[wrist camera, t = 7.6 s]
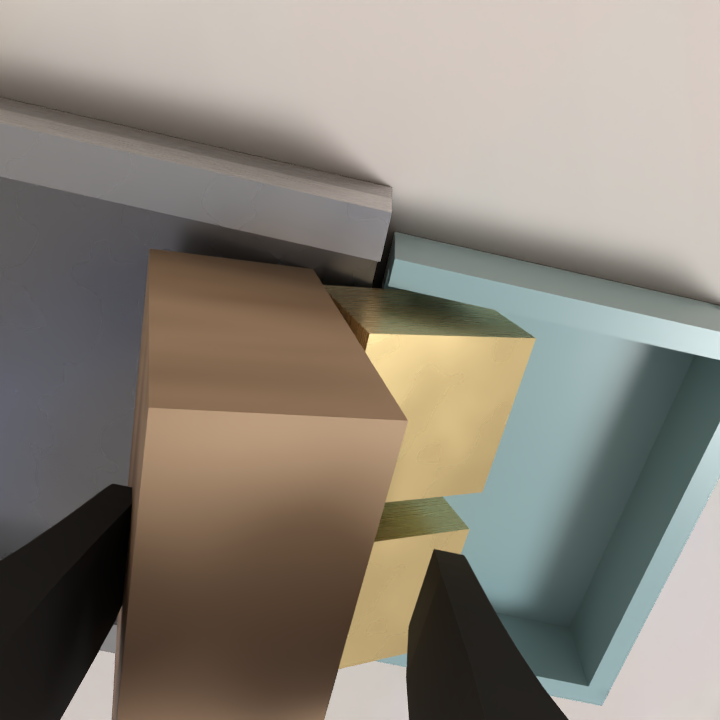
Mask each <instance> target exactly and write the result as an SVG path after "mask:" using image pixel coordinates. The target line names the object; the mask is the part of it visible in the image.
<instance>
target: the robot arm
mask: <svg viewBox="0 0 720 720" xmlns="http://www.w3.org/2000/svg"><path fill="white" fill-rule="evenodd" d="M131 509H132V487H128V486H123V485H118V484H113V483H112V484H111V485H109V486H107V487H106V488H104V489H103V490H102V491H100V492H99V493H97V494H96V495H95V496H93V497H92V498H91V499H89V500H88V501H87V502H85V503H84V504H83V505H81V506H80V507H79V508H77V509H76V510H74V511H73V512H72V513H70V514H69V515H68V516H66V517H65V518H63V519H62V520H61V521H59V522H58V523H56V524H55V525H53V526H52V527H51V528H49V529H48V530H46V531H45V532H43V533H42V534H40V535H39V536H37V537H36V538H34V539H33V540H32V541H30V542H29V543H27V544H26V545H24V546H23V547H21V548H19V549H18V550H16V551H15V552H13V553H11V554H10V555H8V556H7V557H5V558H3V559H2V560H0V720H60V719H61V717H62V716H63V714H64V712H65V710H66V709H67V707H68V705H69V703H70V701H71V700H72V698H73V696H74V694H75V693H76V691H77V689H78V687H79V685H80V684H81V682H82V680H83V678H84V677H85V675H86V673H87V671H88V670H89V668H90V666H91V664H92V662H93V661H94V659H95V657H96V655H97V653H98V652H99V650H100V648H101V646H102V644H103V643H104V641H105V639H106V637H107V635H108V634H109V632H110V630H111V628H112V626H113V624H114V623H115V621H116V618H117V616H118V614H119V611H120V609H121V607H122V602H123V592H124V582H125V571H126V561H127V550H128V540H129V530H130V519H131ZM406 681H407V696H408V710H409V720H568V718H567V717H566V716H565V715H564V713H563V712H562V711H561V710H560V708H559V707H558V706H557V705H556V703H555V702H554V701H553V699H552V698H551V697H550V695H549V694H548V693H547V691H546V690H545V689H544V687H543V686H542V684H541V683H540V682H539V680H538V679H537V677H536V676H535V674H534V673H533V671H532V670H531V668H530V667H529V665H528V664H527V662H526V661H525V659H524V658H523V656H522V655H521V653H520V652H519V650H518V648H517V647H516V645H515V643H514V642H513V640H512V639H511V637H510V635H509V634H508V632H507V630H506V629H505V627H504V625H503V624H502V622H501V620H500V619H499V617H498V615H497V613H496V612H495V610H494V608H493V606H492V604H491V603H490V601H489V599H488V597H487V596H486V594H485V592H484V590H483V588H482V586H481V584H480V583H479V581H478V579H477V577H476V575H475V573H474V571H473V570H472V568H471V566H470V564H469V562H468V560H467V559H466V557H465V556H464V555H461V554H457V553H452V552H447V551H442V550H437V549H434V550H433V553H432V556H431V559H430V562H429V565H428V568H427V571H426V574H425V577H424V580H423V584H422V587H421V590H420V593H419V596H418V599H417V602H416V605H415V608H414V611H413V614H412V617H411V620H410V623H409V626H408V646H407V670H406Z"/></svg>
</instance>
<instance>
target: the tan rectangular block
mask: <svg viewBox="0 0 720 720" xmlns="http://www.w3.org/2000/svg"><path fill="white" fill-rule="evenodd" d="M407 423H408V420H407V418H406V416H405V415H404V413H403V412H402V410H401V408H400V407H399V405H398V404H397V402H396V400H395V399H394V397H393V396H392V394H391V393H390V391H389V389H388V388H387V386H386V385H385V383H384V381H383V380H382V378H381V377H380V375H379V373H378V372H377V370H376V369H375V367H374V365H373V364H372V362H371V361H370V359H369V357H368V356H367V354H366V353H365V351H364V349H363V348H362V346H361V345H360V343H359V341H358V340H357V338H356V337H355V335H354V333H353V332H352V330H351V329H350V327H349V326H348V324H347V322H346V321H345V319H344V318H343V316H342V314H341V313H340V311H339V310H338V308H337V306H336V305H335V303H334V302H333V300H332V298H331V297H330V295H329V294H328V292H327V290H326V289H325V287H324V286H323V284H322V282H321V281H320V279H319V278H318V276H317V274H316V273H315V271H314V270H313V269H309V268H301V267H293V266H285V265H277V264H269V263H261V262H253V261H245V260H237V259H229V258H221V257H213V256H205V255H197V254H190V253H182V252H174V251H166V250H158V249H149V260H148V271H147V282H146V293H145V304H144V315H143V325H142V336H141V347H140V358H139V369H138V380H137V391H136V401H135V412H134V423H133V434H132V445H131V456H130V467H129V478H128V487H132V509H131V519H130V530H129V540H128V550H127V561H126V571H125V582H124V592H123V602H122V607H121V609H120V611H119V614H118V617H117V636H116V654H115V672H114V690H113V708H112V720H324V718H325V715H326V711H327V707H328V704H329V700H330V697H331V693H332V690H333V686H334V683H335V679H336V676H337V672H338V668H339V665H340V661H341V658H342V654H343V651H344V647H345V644H346V640H347V636H348V633H349V629H350V626H351V622H352V619H353V615H354V612H355V608H356V605H357V601H358V597H359V594H360V590H361V587H362V583H363V580H364V576H365V573H366V569H367V565H368V562H369V558H370V555H371V551H372V548H373V544H374V541H375V537H376V533H377V530H378V526H379V523H380V519H381V516H382V512H383V509H384V505H385V502H386V498H387V494H388V491H389V487H390V484H391V480H392V477H393V473H394V470H395V466H396V462H397V459H398V455H399V452H400V448H401V445H402V441H403V438H404V434H405V430H406V427H407Z"/></svg>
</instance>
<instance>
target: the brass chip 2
mask: <svg viewBox="0 0 720 720" xmlns="http://www.w3.org/2000/svg"><path fill="white" fill-rule="evenodd" d="M468 532H469V528H468V526H467V525H466V524H465V523H464V522H463V520H462V519H461V518H460V517H459V516H458V514H457V513H456V512H455V511H454V510H453V508H452V507H451V506H450V505H449V504H448V502H447V501H446V500H445V499H444V498H443V496H442V497H433V498H423V499H414V500H404V501H395V502H386V503H385V505H384V509H383V512H382V516H381V519H380V523H379V526H378V530H377V533H376V537H375V541H374V544H373V548H372V551H371V555H370V558H369V562H368V565H367V569H366V573H365V576H364V580H363V583H362V587H361V590H360V594H359V597H358V601H357V605H356V608H355V612H354V615H353V619H352V622H351V626H350V629H349V633H348V636H347V640H346V644H345V647H344V651H343V654H342V658H341V661H340V665H339V668H338V669H341V668H345V667H350V666H354V665H358V664H363V663H367V662H371V661H376V660H380V659H385V658H389V657H393V656H398V655H402V654H407V646H408V626H409V623H410V620H411V617H412V614H413V611H414V608H415V605H416V602H417V599H418V596H419V593H420V590H421V587H422V584H423V580H424V577H425V574H426V571H427V568H428V565H429V562H430V559H431V556H432V553H433V550H434V549H437V550H442V551H447V552H452V553H457V554H461V552H462V549H463V547H464V544H465V541H466V538H467V535H468Z"/></svg>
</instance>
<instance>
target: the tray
mask: <svg viewBox="0 0 720 720" xmlns="http://www.w3.org/2000/svg"><path fill="white" fill-rule="evenodd" d="M381 289H396V290H408V291H413V292H417V293H422V294H426V295H431V296H435V297H440V298H444V299H449V300H453V301H458V302H462V303H466V304H471V305H475V306H480V307H484V308H489V309H493V310H496V311H497V312H499V313H500V314H501V315H503V316H504V317H506V318H507V319H509V320H510V321H512V322H513V323H515V324H516V325H517V326H519V327H520V328H522V329H523V330H525V331H526V332H528V333H529V334H531V335H532V336H533V337H535V338H536V340H535V343H534V346H533V349H532V351H531V354H530V357H529V360H528V363H527V366H526V369H525V371H524V374H523V377H522V380H521V383H520V386H519V389H518V391H517V394H516V397H515V400H514V403H513V406H512V409H511V412H510V414H509V417H508V420H507V423H506V426H505V429H504V432H503V434H502V437H501V440H500V443H499V446H498V449H497V452H496V454H495V457H494V460H493V463H492V466H491V469H490V472H489V474H488V477H487V480H486V483H485V486H484V489H483V492H480V493H471V494H461V495H452V496H443V498H444V499H445V500H446V501H447V502H448V504H449V505H450V506H451V507H452V508H453V510H454V511H455V512H456V513H457V514H458V516H459V517H460V518H461V519H462V520H463V522H464V523H465V524H466V525H467V526H468V528H469V532H468V535H467V538H466V541H465V544H464V547H463V549H462V552H461V555H464V556H465V557H466V559H467V560H468V562H469V564H470V566H471V568H472V570H473V571H474V573H475V575H476V577H477V579H478V581H479V583H480V584H481V586H482V588H483V590H484V592H485V594H486V596H487V597H488V599H489V601H490V603H491V604H492V606H493V608H494V610H495V612H496V613H497V615H498V617H499V619H500V620H501V622H502V624H503V625H504V627H505V629H506V630H507V632H508V634H509V635H510V637H511V639H512V640H513V642H514V643H515V645H516V647H517V648H518V650H519V652H520V653H521V655H522V656H523V658H524V659H525V661H526V662H527V664H528V665H529V667H530V668H531V670H532V671H533V673H534V674H535V676H536V677H537V679H538V680H539V682H540V683H541V684H542V686H543V687H544V689H545V690H546V691H547V693H548V694H549V695H550V696H555V697H560V698H565V699H570V700H575V701H580V702H585V703H590V704H595V705H600V706H602V705H603V703H604V701H605V699H606V697H607V695H608V693H609V691H610V689H611V687H612V685H613V683H614V681H615V680H616V678H617V676H618V674H619V672H620V670H621V668H622V666H623V664H624V662H625V660H626V658H627V656H628V654H629V652H630V650H631V649H632V647H633V645H634V643H635V641H636V639H637V637H638V635H639V633H640V631H641V629H642V627H643V625H644V623H645V621H646V619H647V618H648V616H649V614H650V612H651V610H652V608H653V606H654V604H655V602H656V600H657V598H658V596H659V594H660V592H661V590H662V588H663V587H664V585H665V583H666V581H667V579H668V577H669V575H670V573H671V571H672V569H673V567H674V565H675V563H676V561H677V559H678V557H679V555H680V554H681V552H682V550H683V548H684V546H685V544H686V542H687V540H688V538H689V536H690V534H691V532H692V530H693V528H694V526H695V524H696V523H697V521H698V519H699V517H700V515H701V513H702V511H703V509H704V507H705V505H706V503H707V501H708V499H709V497H710V495H711V493H712V492H713V490H714V488H715V486H716V484H717V482H718V480H719V478H720V305H715V304H711V303H707V302H702V301H698V300H693V299H689V298H684V297H680V296H676V295H671V294H667V293H662V292H658V291H654V290H649V289H645V288H640V287H636V286H632V285H627V284H623V283H618V282H614V281H610V280H605V279H601V278H596V277H592V276H588V275H583V274H579V273H574V272H570V271H566V270H561V269H557V268H552V267H548V266H544V265H539V264H535V263H530V262H526V261H522V260H517V259H513V258H508V257H504V256H500V255H495V254H491V253H486V252H482V251H478V250H473V249H469V248H464V247H460V246H455V245H451V244H447V243H442V242H438V241H433V240H429V239H425V238H420V237H416V236H411V235H407V234H403V233H398V232H395V233H394V237H393V241H392V245H391V249H390V253H389V258H388V262H387V266H386V270H385V274H384V278H383V283H382V287H381ZM376 661H378V662H383V663H388V664H393V665H398V666H403V667H407V654H402V655H398V656H393V657H389V658H385V659H380V660H376Z"/></svg>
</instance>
